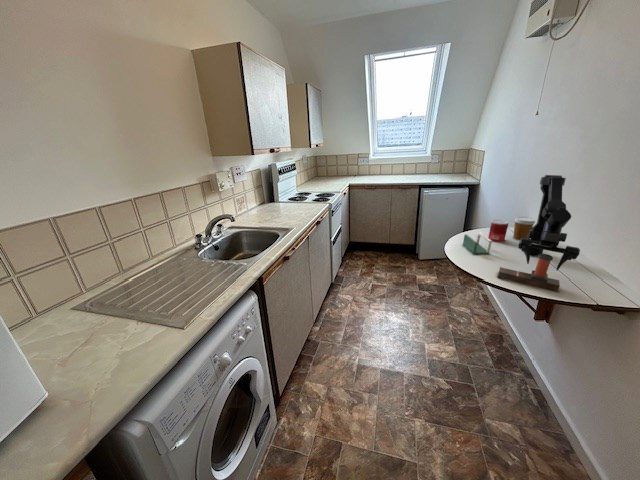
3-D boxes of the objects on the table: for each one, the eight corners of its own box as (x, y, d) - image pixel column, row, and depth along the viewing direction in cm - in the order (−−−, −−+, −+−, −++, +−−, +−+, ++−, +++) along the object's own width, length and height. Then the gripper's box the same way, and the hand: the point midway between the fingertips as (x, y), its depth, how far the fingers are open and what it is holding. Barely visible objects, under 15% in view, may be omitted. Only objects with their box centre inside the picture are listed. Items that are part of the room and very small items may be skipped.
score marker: (530, 279, 107) (537, 257, 104) (531, 273, 112) (537, 251, 108) (546, 282, 104) (554, 260, 101) (546, 276, 109) (553, 254, 105)
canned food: (507, 242, 150) (511, 223, 145) (492, 242, 150) (497, 224, 146) (498, 237, 157) (503, 219, 152) (485, 237, 157) (489, 219, 153)
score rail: (497, 277, 115) (498, 271, 114) (498, 272, 119) (500, 266, 118) (557, 292, 104) (559, 285, 102) (556, 286, 107) (559, 279, 106)
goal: (477, 244, 147) (479, 232, 145) (489, 254, 136) (492, 240, 134) (462, 245, 148) (464, 232, 145) (473, 254, 137) (475, 241, 134)
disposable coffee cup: (519, 234, 158) (525, 215, 154) (534, 240, 150) (540, 220, 145) (505, 236, 157) (510, 217, 153) (519, 242, 148) (525, 222, 144)
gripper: (525, 219, 109) (515, 253, 106) (587, 228, 98) (578, 266, 94) (522, 231, 118) (513, 263, 114) (579, 241, 106) (571, 276, 103)
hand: (542, 266), depth 106 cm, fingers open, 9 cm apart
